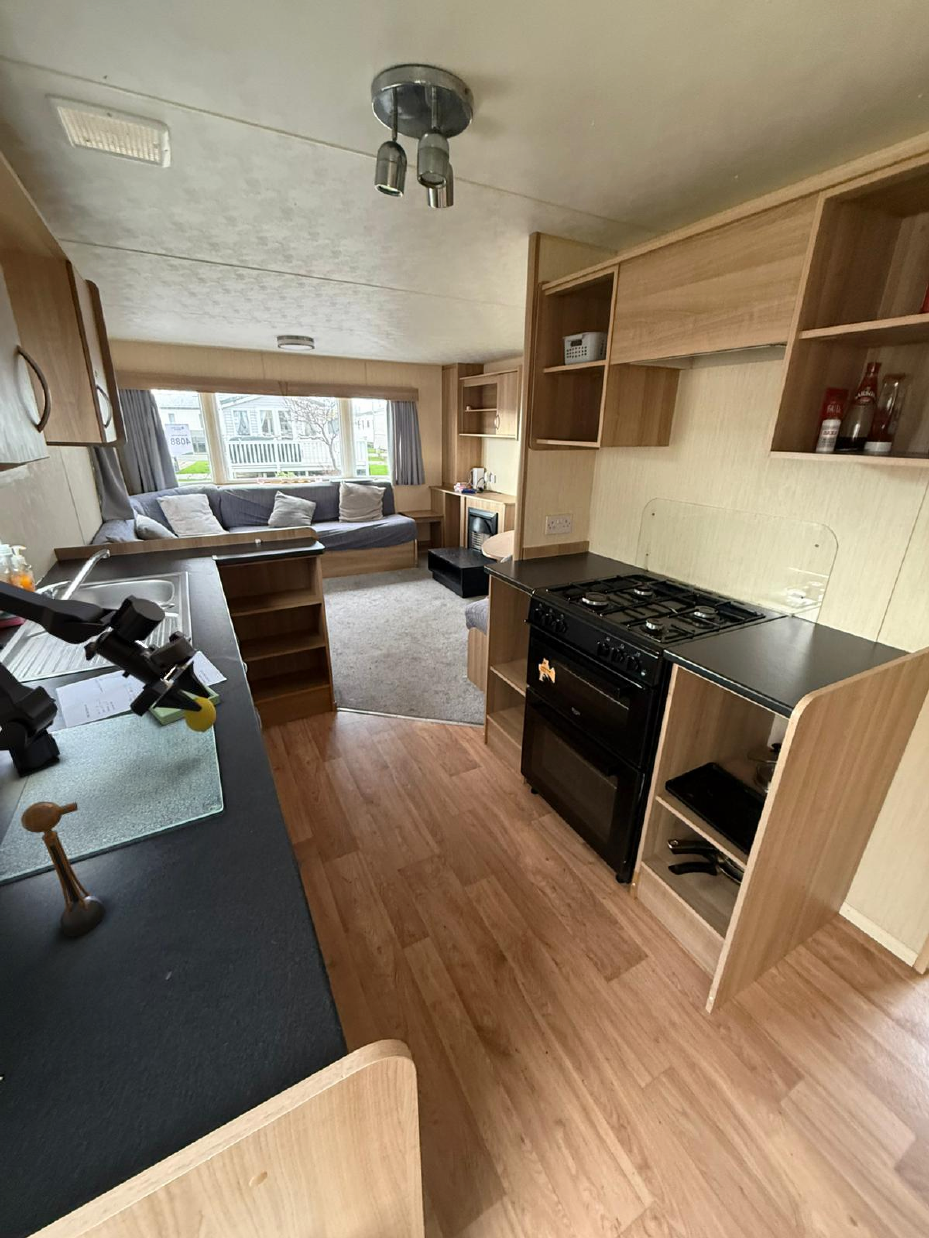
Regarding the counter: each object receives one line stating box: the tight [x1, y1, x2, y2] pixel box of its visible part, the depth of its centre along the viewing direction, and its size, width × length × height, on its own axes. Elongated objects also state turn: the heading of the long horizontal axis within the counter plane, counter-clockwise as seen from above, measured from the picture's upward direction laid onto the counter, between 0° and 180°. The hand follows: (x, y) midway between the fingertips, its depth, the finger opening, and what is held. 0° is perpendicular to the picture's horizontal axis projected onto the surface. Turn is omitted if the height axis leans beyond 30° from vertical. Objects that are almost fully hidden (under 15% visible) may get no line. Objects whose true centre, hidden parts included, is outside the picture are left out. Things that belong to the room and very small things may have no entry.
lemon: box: [183, 697, 217, 733], centre depth 100 cm, size 6×6×8 cm
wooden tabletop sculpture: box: [20, 801, 107, 937], centre depth 65 cm, size 6×5×20 cm
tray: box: [148, 680, 221, 726], centre depth 120 cm, size 13×13×2 cm
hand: (205, 703), depth 99 cm, fingers closed on lemon, 4 cm apart
